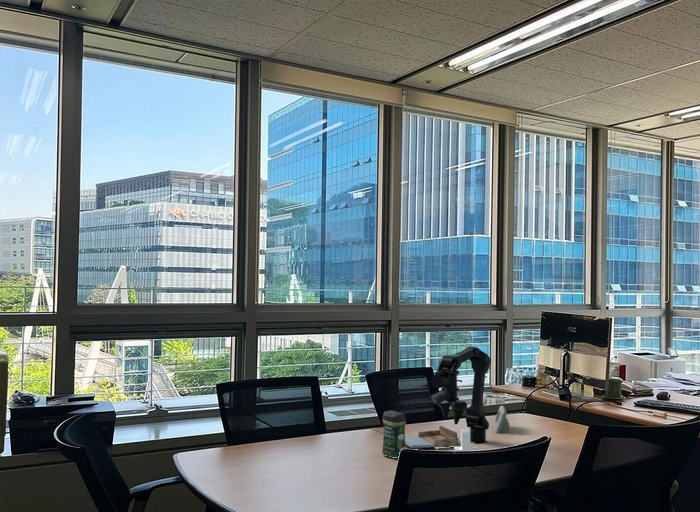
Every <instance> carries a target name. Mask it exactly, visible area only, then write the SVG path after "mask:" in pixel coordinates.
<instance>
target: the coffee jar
mask: <svg viewBox="0 0 700 512" xmlns="http://www.w3.org/2000/svg"><path fill="white" fill-rule="evenodd" d="M382 424H383V439H382V440H383V441H382V453H381V454H382V455H383V454H384V455H387V456H391V457H397V458H398V456H399V452H400V451H401V450H402V449H407V448H406V444H405V437H406V435H405V434H406V433H405V432H406V431H405V429H406V424H407V418H406V414H405V413H403V412H400V411H396V410H391V409H390V410H385V411H384V412H383V415H382ZM384 455H383V456H384Z"/></svg>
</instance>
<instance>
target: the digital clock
mask: <svg viewBox="0 0 700 512" xmlns="http://www.w3.org/2000/svg"><path fill="white" fill-rule="evenodd" d="M507 414H508V413H507V410H506V408H505V406H504V405H500V406H499V409H498V411H497V413H496V416H495V418H494V421H493V428H494V431H495V433H498V434H499V433H510V422H509V419H508V418H506V417H507Z"/></svg>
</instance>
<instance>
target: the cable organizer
mask: <svg viewBox="0 0 700 512" xmlns="http://www.w3.org/2000/svg"><path fill="white" fill-rule="evenodd" d="M460 430H461V431H460V446H459V445H458V446H454V448H453V450H454V449H455V451H470V450H479V448H478V447H476V446H471V441H470V428H469V429H467V428H460Z"/></svg>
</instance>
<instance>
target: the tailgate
mask: <svg viewBox="0 0 700 512" xmlns="http://www.w3.org/2000/svg"><path fill="white" fill-rule="evenodd" d="M405 446H407V447H409V448H412V449H413V448H414V449H415V448H431V447H434V444H432V443H430V442H428V441H426V440H424V439H422V438H420V437H418V436H405Z"/></svg>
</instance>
